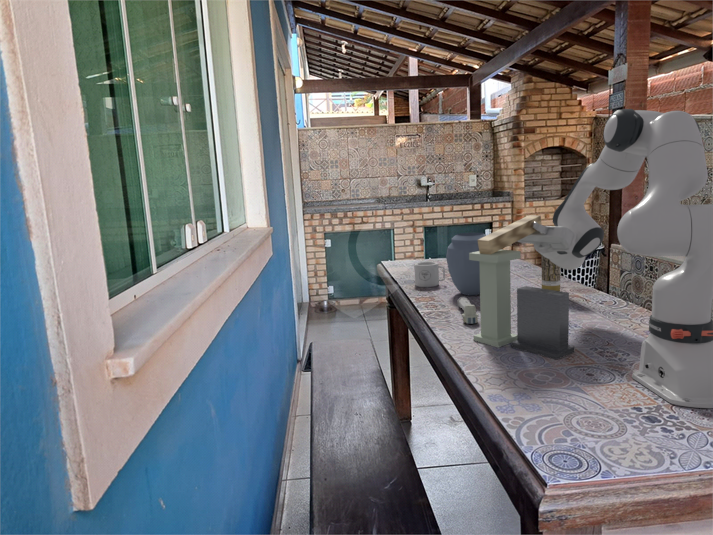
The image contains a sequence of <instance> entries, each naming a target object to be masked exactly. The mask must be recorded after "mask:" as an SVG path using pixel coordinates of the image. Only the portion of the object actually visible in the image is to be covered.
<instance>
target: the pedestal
mask: <svg viewBox="0 0 713 535" xmlns="http://www.w3.org/2000/svg"><path fill="white" fill-rule="evenodd" d="M521 255H522V254H521V251H520V250H510V249H501V250H499V251H497V252H495V253H493V254H481V253H480V252H479V251H477V252H472V253H469V260H474V261H479V263H480V294H479V302H480V303H479V304H480V305H479V306H480V310H479V311H480V313H479V314H480V332H479V333H477V334H474V335H473V341H474V340H475V342H477V341H478V342H477V343H481V344H484V345H488V346H492V347H496V348H500V347H504V346H506V345H508V344H511V342H513V341H516V340H517V334H516V333H512V323H511V322H512V320H511V319H512V311H511V310H512V307H511V306H512V305H511V301H512V300H511V293H512V292H511V290H512V289H511V288H512V287H511V261H514V260H519V259H521V258H522V257H521Z"/></svg>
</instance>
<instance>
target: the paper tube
mask: <svg viewBox="0 0 713 535" xmlns="http://www.w3.org/2000/svg"><path fill="white" fill-rule="evenodd" d="M541 288H542V289H548V290H555V291H561V267H559V266H557V265H555V264H554V263H552V262H551V261H550V260H549V259H548V258H546V257H544V256H543V255H541Z"/></svg>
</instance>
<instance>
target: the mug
mask: <svg viewBox="0 0 713 535" xmlns="http://www.w3.org/2000/svg"><path fill="white" fill-rule="evenodd" d="M413 266H414V267H413V268H414V286H416V287H419V288H433V287H437V286H439V285H440V282H444V281H445V279H446V269H445V266H442V265H439V262H436V261H427V260H426V261H418V262H415V263H414V265H413ZM439 268H441V269H442V276H443V278H442V279H441V278H440V276H439V275H440V274H439V270H440V269H439Z"/></svg>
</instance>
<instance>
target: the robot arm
mask: <svg viewBox="0 0 713 535" xmlns="http://www.w3.org/2000/svg"><path fill="white" fill-rule="evenodd" d="M602 135H603V136H602V137H603V139H602V140H603V142H604V144H605V145H604V147H603V148H602V151H601V152H600V154H599V157H598V159H597V160H596V161H595V162H592V163H589V165H587V166H586V167H585V168H584V170H582V172H581V173H580V175H579V176H578V178H577V179H576V181H575V183H574V184H573V185H572V187H571V189H570V190H569V192H568V194H567V195H566V197H565V198H564V200H563V201H562V202H561V203H560V204H559V205H558V207H556V209H555V211H554V212H553V215H552V223H553V225H543V224H542V225H541V224H538V223H537V222H532V223H531V226H530V227H531V228H532V229H533V230H537V231H536V232H534V233H532V234H530V235H528V236H526V237H524V238H522V239H520V240H518V241H516V242H517V243H521V244H529V245H530V244H531V245H533V248H534V250H535V251H536V252H538V254H540V255H541V256H542V255H543V256H544V257H546V258H548V259H549V260H550V261H551V262H552V263H554V264H555V265H557V266H559V267H560V269H563V270H568V271H571V270H576V269H578V268H580V267H581V266H582V265H583V264H584V262H585V260H586V257H587V256H589V255H590V254H592V253H594V252H595V251H596V250H598V248H600V247H601V245H602V243H603V241H604V237H605V231H604V229H603V228H602V227H601V226H600V225H599V224H598V222H597V221H596V220H594V218H592V216H591V215H589V213H588V212H587V211H586V208H585V203H586V202H587V201H588V198H590V196H591V194H592V192H593V191H594V190H595V189H596V188H599V189H602V190H606V191H607V190H609V191H616V190H622V189H624V188H626V187H628V186H630V185H631V183H632V182H634V180H636V177H637V176H638V173H639V172H640V170H641V167H642V166H643V164H644V161H645V159H646V158H647V165H648V186H647V190H646V193H645V194H644V196H643V197H642V199H641V200H640V202H639V203H637V204H636V205H635V206H633V207H632V208H630V209H628V211H626V212H625V213H624V214H623V216H622V217H621V218H620V220H619V222H618V224H617V225H618V226H617V231H616V234H617V239H618V242H619V244H620V246H621V247H622V248H623V249H624V250H625V252H627V253H630V254H634V255H637V256H638V255H639V256H646V257H684V261H683V262H682V263H681V264H680V266H679V267H677V268H676V269H673V270H671V271H669V272H666V273H664V274H663V275H661V276H659V277H658V278H657V279H656V280H655V281H654V284H653V285H652V295H651V296H652V298H651V302H652V303H651V314H650V315H649V320H648V332H649V335H648V336H647V338H645V340H643V341H642V343H641V348H640V354H639V355H640V357H639V358H640V359H639V365H638V366H639V367H638V370H636V371H634V372H632V376H631V378H632V379H634V380H635V381H636V382H637V383H639V384H641V385H642V386H643V387H645V388H647V389H648V390H650V391H651V392H652V393H654V394H656V395H657V396H659V397H660V398H662V400H665V401H667V402H668V403H670V404H672V405H676V406H679V407H680V406H681V407H686V408H688V407H689V408H697V409H699V408H700V409H713V319H712V309H713V203H711V204H710V203H709V204H707V203H705V204H683V203H681V202H682V201H684V200H687V199H689V198H691V197H692V196H694V195H696V194H697V193H699V192H700V191H701V190H702V189H703V188H704V187H705V186H706V184H707V182H708V178H709V174H708V166H707V161H706V160H707V159H706V153H705V146H704V143H703V138H702V135H701V127H700V125H699V123H698V122H697V121H696V120H695V118H694V117H693V116H692V115H691V114H690V113H688V112H686V111H682V110H671V111H667V112H659V111H657V110H643V109H642V110H641V109H638V110H637V109H635V110H634V109H632V108H624V109H618V110H616V111H614V112H613V113H612V114H610V116H609V117H608V119H607V121H606V122H605V125H604V128H603V134H602Z"/></svg>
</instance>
